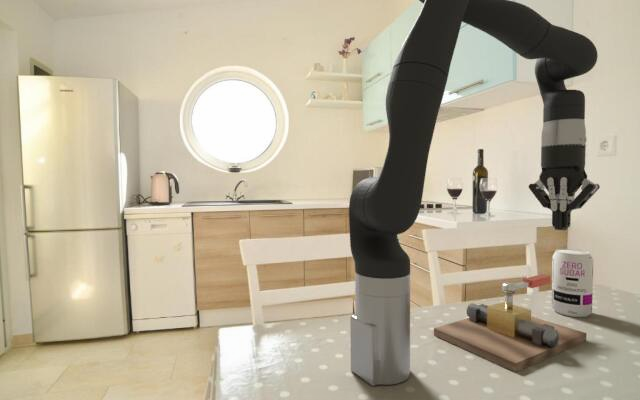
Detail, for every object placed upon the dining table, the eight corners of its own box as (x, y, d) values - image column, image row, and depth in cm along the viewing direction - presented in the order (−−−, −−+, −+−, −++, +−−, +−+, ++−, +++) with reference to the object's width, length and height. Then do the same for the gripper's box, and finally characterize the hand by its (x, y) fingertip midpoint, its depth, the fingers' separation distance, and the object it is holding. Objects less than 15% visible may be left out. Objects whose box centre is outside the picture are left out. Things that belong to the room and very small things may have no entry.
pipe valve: (545, 355, 68) (546, 308, 68) (462, 324, 84) (463, 285, 83) (562, 348, 71) (563, 302, 71) (479, 319, 87) (479, 281, 86)
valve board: (515, 372, 64) (515, 363, 64) (433, 335, 79) (433, 328, 79) (586, 340, 76) (586, 333, 76) (503, 313, 91) (503, 307, 91)
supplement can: (578, 307, 96) (580, 248, 95) (599, 318, 87) (601, 255, 87) (545, 306, 96) (546, 248, 96) (562, 317, 88) (564, 254, 88)
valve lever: (511, 294, 75) (511, 286, 75) (499, 291, 77) (499, 283, 77) (551, 283, 83) (551, 276, 83) (539, 281, 85) (539, 274, 85)
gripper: (520, 146, 79) (518, 227, 80) (590, 140, 68) (588, 235, 69) (540, 147, 83) (538, 225, 84) (610, 141, 72) (607, 231, 73)
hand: (561, 229), depth 76 cm, fingers closed
